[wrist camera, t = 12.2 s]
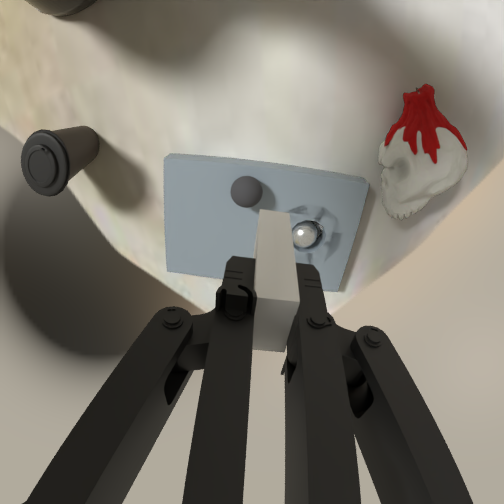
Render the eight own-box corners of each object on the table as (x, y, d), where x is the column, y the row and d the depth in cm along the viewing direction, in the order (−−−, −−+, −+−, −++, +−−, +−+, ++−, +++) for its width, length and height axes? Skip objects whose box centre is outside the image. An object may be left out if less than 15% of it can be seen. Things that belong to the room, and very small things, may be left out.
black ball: (231, 198, 35) (227, 210, 32) (233, 170, 33) (229, 179, 30) (261, 202, 35) (260, 214, 32) (264, 173, 33) (264, 183, 30)
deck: (171, 261, 43) (167, 271, 41) (170, 153, 35) (163, 158, 33) (334, 281, 43) (337, 292, 41) (363, 177, 35) (369, 184, 33)
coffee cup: (107, 114, 32) (61, 128, 23) (109, 172, 36) (68, 201, 28) (60, 118, 32) (12, 135, 23) (64, 172, 36) (21, 199, 28)
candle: (374, 206, 36) (357, 88, 30) (446, 196, 34) (436, 87, 28) (398, 231, 28) (381, 80, 22) (482, 218, 26) (474, 83, 20)
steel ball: (285, 238, 40) (292, 254, 37) (287, 215, 38) (294, 230, 35) (310, 236, 40) (319, 251, 37) (313, 213, 38) (322, 228, 35)
